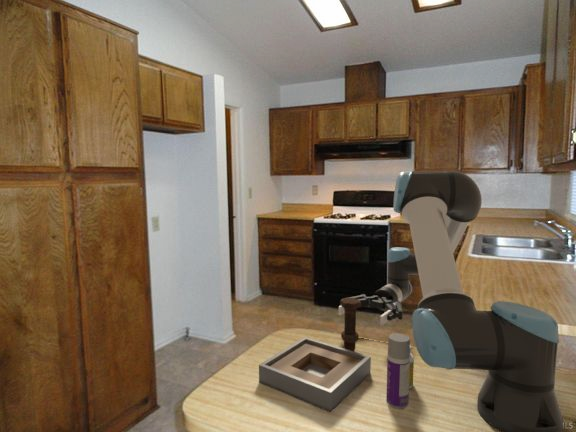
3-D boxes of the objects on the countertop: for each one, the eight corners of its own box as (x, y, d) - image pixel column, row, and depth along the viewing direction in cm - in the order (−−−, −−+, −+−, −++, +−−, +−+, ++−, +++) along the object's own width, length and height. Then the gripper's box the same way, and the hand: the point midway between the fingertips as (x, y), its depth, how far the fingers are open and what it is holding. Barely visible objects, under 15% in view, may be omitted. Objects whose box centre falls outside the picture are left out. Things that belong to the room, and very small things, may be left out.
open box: (370, 373, 96) (370, 356, 96) (330, 412, 81) (330, 392, 80) (305, 352, 108) (305, 336, 108) (259, 382, 92) (258, 364, 92)
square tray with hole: (364, 371, 96) (364, 360, 96) (328, 405, 82) (328, 392, 82) (306, 352, 107) (306, 342, 106) (266, 379, 93) (265, 367, 92)
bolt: (337, 353, 107) (338, 302, 106) (341, 346, 112) (341, 296, 111) (358, 356, 106) (359, 304, 104) (361, 348, 110) (362, 298, 109)
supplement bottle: (414, 391, 89) (415, 351, 88) (390, 388, 90) (391, 349, 89) (411, 379, 94) (412, 341, 93) (389, 376, 95) (390, 339, 94)
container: (381, 399, 85) (383, 335, 84) (397, 394, 87) (399, 331, 86) (396, 411, 81) (398, 343, 79) (412, 405, 83) (415, 339, 82)
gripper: (423, 316, 123) (400, 338, 107) (354, 301, 138) (323, 318, 121) (424, 293, 123) (400, 312, 106) (354, 281, 138) (324, 295, 121)
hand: (359, 315), depth 114 cm, fingers open, 13 cm apart
